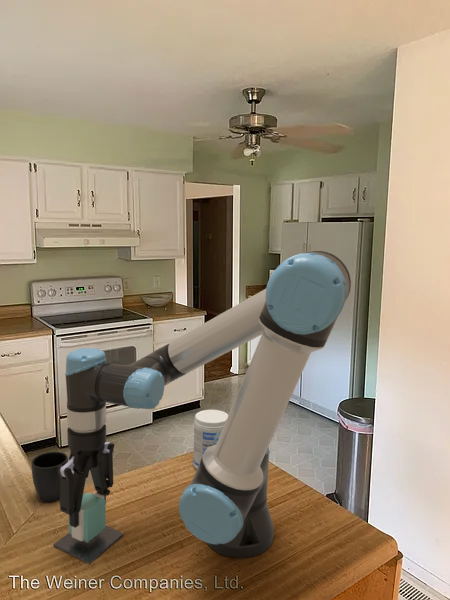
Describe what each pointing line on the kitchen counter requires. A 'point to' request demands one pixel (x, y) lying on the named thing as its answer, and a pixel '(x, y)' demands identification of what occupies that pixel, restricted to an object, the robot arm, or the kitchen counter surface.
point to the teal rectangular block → (92, 516)
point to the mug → (48, 475)
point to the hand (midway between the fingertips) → (88, 529)
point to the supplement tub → (206, 431)
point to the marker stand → (89, 544)
